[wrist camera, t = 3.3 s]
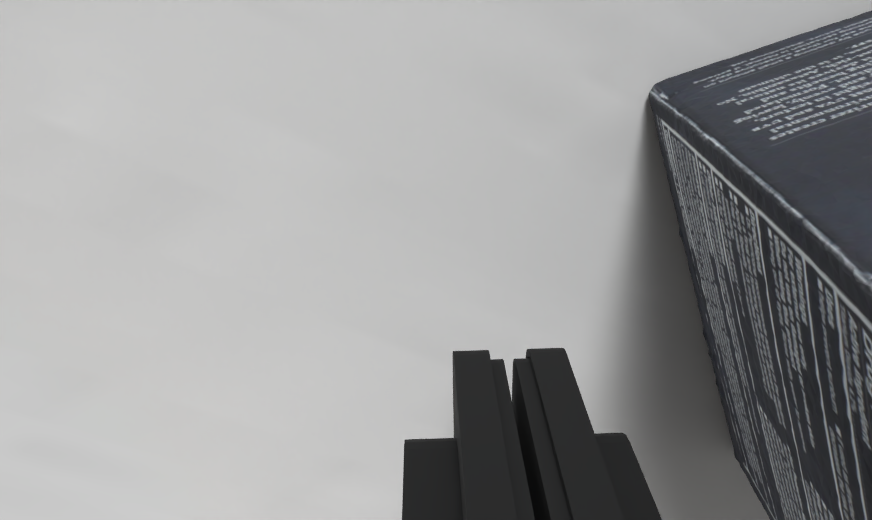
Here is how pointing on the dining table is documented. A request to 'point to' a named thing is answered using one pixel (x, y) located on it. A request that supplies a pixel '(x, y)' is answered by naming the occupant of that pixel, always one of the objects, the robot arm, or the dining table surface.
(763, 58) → the small box
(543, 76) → the dining table surface
